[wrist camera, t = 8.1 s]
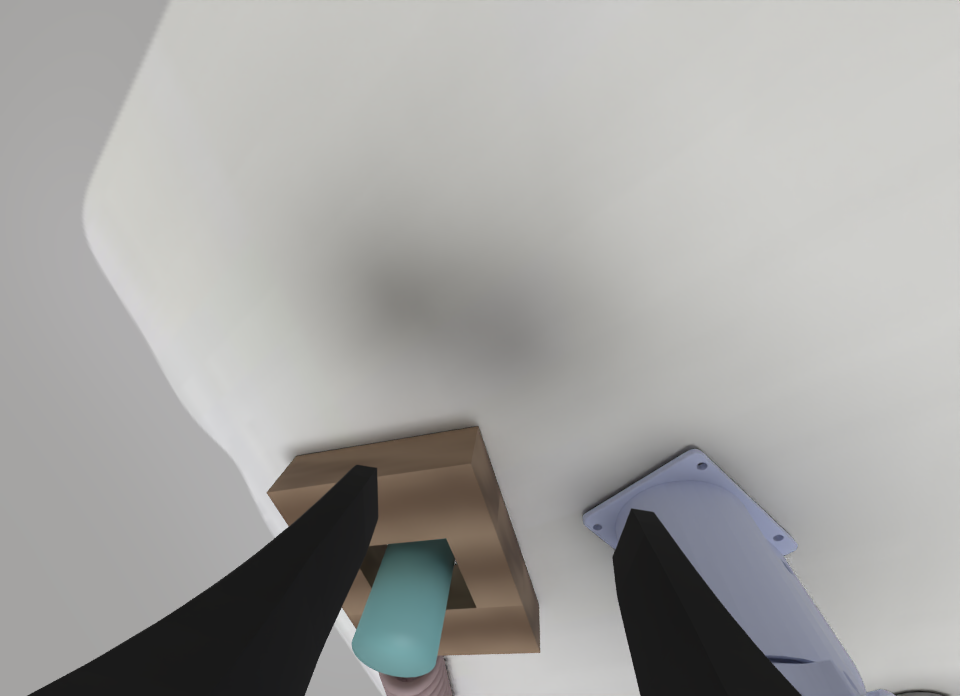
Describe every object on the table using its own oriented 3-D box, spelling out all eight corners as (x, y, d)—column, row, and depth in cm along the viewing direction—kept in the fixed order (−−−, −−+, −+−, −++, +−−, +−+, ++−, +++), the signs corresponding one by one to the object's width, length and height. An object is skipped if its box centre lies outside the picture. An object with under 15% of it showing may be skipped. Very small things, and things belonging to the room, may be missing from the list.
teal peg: (472, 537, 25) (454, 660, 19) (430, 565, 27) (401, 686, 21) (421, 500, 24) (385, 616, 18) (382, 531, 26) (335, 647, 20)
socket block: (539, 605, 27) (540, 652, 25) (388, 613, 30) (374, 657, 27) (478, 426, 21) (471, 463, 19) (296, 456, 24) (266, 492, 21)
